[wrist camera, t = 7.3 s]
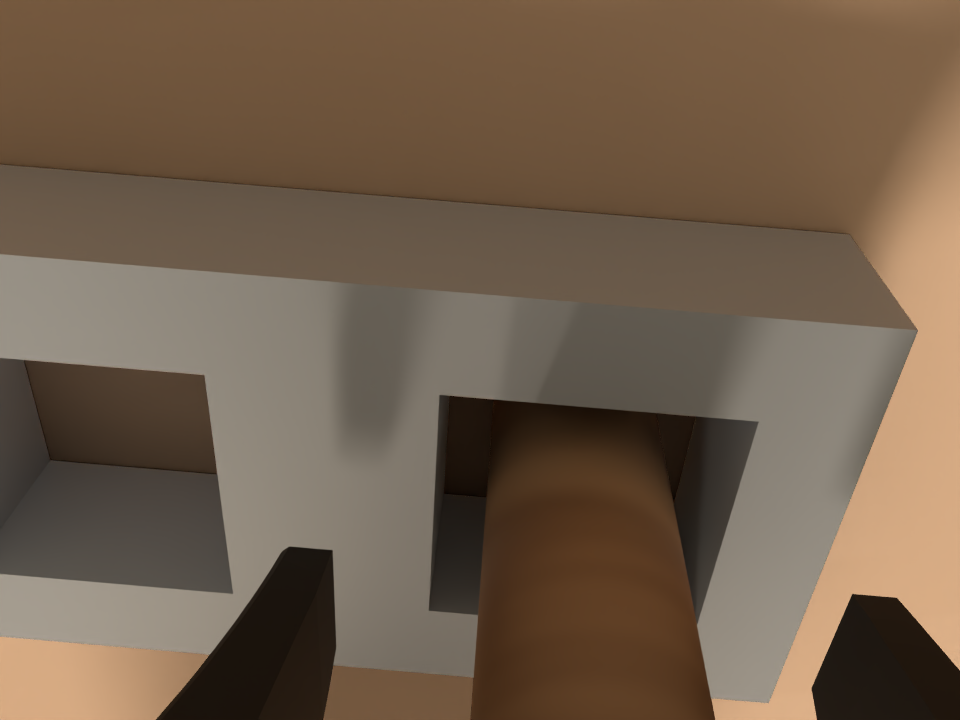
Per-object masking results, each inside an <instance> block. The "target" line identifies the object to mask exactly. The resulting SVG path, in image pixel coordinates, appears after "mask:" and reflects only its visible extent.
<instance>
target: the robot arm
mask: <svg viewBox="0 0 960 720" xmlns="http://www.w3.org/2000/svg"><path fill="white" fill-rule="evenodd" d="M335 652H336V625H335V598H334V571H333V550H326V549H314V548H302V547H291V546H289V547H288V548H286V549H285V550H283V551H282V552H281V553H280V555H279V557H278V558H277V560H276V562H275V563H274V565H273V567H272V568H271V570H270V571H269V573H268V574H267V576H266V577H265V579H264V581H263V582H262V584H261V585H260V587H259V588H258V590H257V591H256V593H255V594H254V595H253V597H252V598H251V600H250V601H249V603H248V604H247V605H246V607H245V608H244V610H243V611H242V612H241V614H240V615H239V617H238V618H237V619H236V621H235V622H234V624H233V625H232V626H231V628H230V629H229V630H228V632H227V633H226V634H225V636H224V637H223V638H222V640H221V641H220V642H219V643H218V645H217V646H216V647H215V649H214V650H213V651H212V653H211V654H210V655H209V656H208V658H207V659H206V660H205V662H204V663H203V664H202V666H201V667H200V668H199V669H198V671H197V672H196V673H195V674H194V676H193V677H192V678H191V679H190V681H189V682H188V683H187V684H186V685H185V687H184V688H183V689H182V690H181V691H180V692H179V694H178V695H177V696H176V697H175V698H174V699H173V701H172V702H171V703H170V704H169V705H168V706H167V708H166V709H165V710H164V711H163V712H162V713H161V715H160V716H159V717H158V718H157V719H156V720H323V718H324V712H325V707H326V702H327V696H328V691H329V686H330V680H331V675H332V669H333V664H334V658H335ZM812 693H813V699H814V704H815V710H816V716H817V720H960V670H959V669H958V668H957V667H956V666H955V665H954V663H953V662H952V661H951V660H950V659H949V658H948V656H947V655H946V654H945V653H944V652H943V651H942V649H941V648H940V647H939V646H938V645H937V644H936V642H935V641H934V640H933V639H932V638H931V637H930V635H929V634H928V633H927V632H926V631H925V630H924V628H923V627H922V626H921V625H920V624H919V623H918V621H917V620H916V619H915V618H914V617H913V616H912V615H911V613H910V612H909V611H908V610H907V609H906V608H905V607H904V606H903V604H902V603H901V602H900V601H899V600H898V599H897V598H892V597H880V596H868V595H856V594H852V596H851V599H850V601H849V603H848V606H847V608H846V610H845V612H844V615H843V617H842V619H841V622H840V624H839V626H838V629H837V631H836V633H835V636H834V638H833V640H832V642H831V645H830V647H829V649H828V652H827V654H826V656H825V659H824V661H823V663H822V666H821V668H820V670H819V672H818V675H817V677H816V679H815V682H814V684H813V686H812Z"/></svg>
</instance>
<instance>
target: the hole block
mask: <svg viewBox="0 0 960 720" xmlns="http://www.w3.org/2000/svg"><path fill="white" fill-rule="evenodd" d="M917 332H918V330H917V328H916V327H915V326H914V324H913V323H912V321H911V320H910V319H909V317H908V316H907V314H906V313H905V312H904V310H903V309H902V307H901V306H900V305H899V303H898V302H897V300H896V299H895V297H894V296H893V295H892V293H891V292H890V290H889V289H888V288H887V286H886V285H885V283H884V282H883V281H882V279H881V278H880V276H879V275H878V274H877V272H876V271H875V269H874V268H873V267H872V265H871V264H870V262H869V261H868V260H867V258H866V257H865V255H864V254H863V253H862V251H861V250H860V248H859V247H858V246H857V244H856V243H855V241H854V240H853V239H852V237H851V236H850V234H840V233H828V232H816V231H804V230H791V229H779V228H767V227H755V226H743V225H731V224H718V223H706V222H694V221H682V220H670V219H658V218H645V217H633V216H621V215H609V214H597V213H585V212H572V211H560V210H548V209H536V208H524V207H512V206H499V205H487V204H475V203H463V202H451V201H439V200H426V199H414V198H402V197H390V196H378V195H366V194H353V193H341V192H329V191H317V190H305V189H293V188H281V187H268V186H256V185H244V184H232V183H220V182H208V181H195V180H183V179H171V178H159V177H147V176H135V175H122V174H110V173H98V172H86V171H74V170H62V169H49V168H37V167H25V166H13V165H1V164H0V637H11V638H23V639H34V640H46V641H58V642H69V643H81V644H92V645H104V646H115V647H127V648H138V649H150V650H161V651H173V652H184V653H196V654H207V655H210V654H211V653H212V651H213V650H214V649H215V647H216V646H217V645H218V643H219V642H220V641H221V640H222V638H223V637H224V636H225V634H226V633H227V632H228V630H229V629H230V628H231V626H232V625H233V624H234V622H235V621H236V619H237V618H238V617H239V615H240V614H241V612H242V611H243V610H244V608H245V607H246V605H247V604H248V603H249V601H250V600H251V598H252V597H253V595H254V594H255V593H256V591H257V590H258V588H259V587H260V585H261V584H262V582H263V581H264V579H265V577H266V576H267V574H268V573H269V571H270V570H271V568H272V567H273V565H274V563H275V562H276V560H277V558H278V557H279V555H280V553H281V552H282V551H283V550H285V549H286V548H288V547H289V546H291V547H302V548H314V549H326V550H333V571H334V598H335V625H336V652H335V658H334V664H333V665H334V666H346V667H357V668H369V669H380V670H392V671H404V672H415V673H427V674H438V675H450V676H461V677H473V678H474V665H475V651H476V637H477V623H478V609H479V595H480V581H481V567H482V553H483V540H484V526H485V512H486V498H487V497H476V496H464V495H452V494H444V484H445V466H446V448H447V431H448V413H449V396H459V397H471V398H483V399H495V400H507V401H519V402H531V403H543V404H555V405H567V406H578V407H590V408H602V409H614V410H626V411H638V412H650V413H662V414H674V415H686V416H696V418H695V422H694V426H693V430H692V434H691V438H690V442H689V446H688V450H687V454H686V458H685V462H684V466H683V470H682V474H681V478H680V482H679V486H678V490H677V494H676V498H675V502H674V508H675V513H676V519H677V524H678V529H679V534H680V539H681V545H682V550H683V555H684V560H685V565H686V571H687V576H688V581H689V586H690V591H691V597H692V602H693V607H694V612H695V617H696V623H697V628H698V633H699V638H700V643H701V649H702V654H703V659H704V664H705V669H706V675H707V680H708V685H709V690H710V695H711V698H715V699H726V700H738V701H750V702H761V703H769V701H770V699H771V696H772V694H773V691H774V689H775V686H776V684H777V681H778V679H779V676H780V674H781V671H782V669H783V666H784V664H785V661H786V659H787V656H788V654H789V651H790V649H791V646H792V644H793V641H794V639H795V636H796V634H797V631H798V629H799V626H800V624H801V621H802V619H803V616H804V614H805V611H806V609H807V606H808V604H809V601H810V599H811V596H812V594H813V591H814V589H815V586H816V584H817V581H818V579H819V576H820V574H821V571H822V569H823V566H824V564H825V561H826V559H827V556H828V554H829V551H830V549H831V546H832V544H833V541H834V539H835V536H836V534H837V531H838V529H839V526H840V524H841V521H842V519H843V516H844V514H845V511H846V509H847V506H848V504H849V501H850V499H851V496H852V494H853V491H854V489H855V486H856V484H857V481H858V479H859V476H860V474H861V471H862V469H863V466H864V464H865V461H866V459H867V456H868V454H869V452H870V449H871V447H872V444H873V442H874V439H875V437H876V434H877V432H878V429H879V427H880V424H881V422H882V419H883V417H884V414H885V412H886V409H887V407H888V404H889V402H890V399H891V397H892V394H893V392H894V389H895V387H896V384H897V382H898V379H899V377H900V374H901V372H902V369H903V367H904V364H905V362H906V359H907V357H908V354H909V352H910V349H911V347H912V344H913V342H914V339H915V337H916V334H917ZM24 360H31V361H43V362H55V363H67V364H79V365H91V366H103V367H114V368H126V369H138V370H150V371H162V372H174V373H186V374H198V375H204V376H205V384H206V391H207V399H208V407H209V414H210V422H211V429H212V437H213V444H214V452H215V460H216V467H217V474H205V473H193V472H182V471H170V470H158V469H146V468H135V467H123V466H111V465H99V464H88V463H76V462H64V461H52V460H50V457H49V454H48V450H47V446H46V442H45V439H44V435H43V431H42V427H41V424H40V420H39V416H38V412H37V409H36V405H35V401H34V397H33V394H32V390H31V386H30V382H29V379H28V375H27V371H26V367H25V364H24Z"/></svg>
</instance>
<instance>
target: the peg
mask: <svg viewBox="0 0 960 720" xmlns="http://www.w3.org/2000/svg"><path fill="white" fill-rule="evenodd" d="M471 720H715V716H714V711H713V706H712V701H711V695H710V690H709V685H708V680H707V675H706V669H705V664H704V659H703V654H702V649H701V643H700V638H699V633H698V628H697V623H696V617H695V612H694V607H693V602H692V597H691V591H690V586H689V581H688V576H687V571H686V565H685V560H684V555H683V550H682V545H681V539H680V534H679V529H678V524H677V519H676V513H675V508H674V503H673V498H672V493H671V487H670V482H669V477H668V472H667V467H666V461H665V456H664V451H663V446H662V441H661V435H660V430H659V425H658V420H657V415H656V413H650V412H638V411H626V410H614V409H602V408H590V407H578V406H567V405H555V404H543V403H531V402H519V401H507V400H495V399H494V403H493V414H492V428H491V442H490V456H489V470H488V484H487V498H486V512H485V526H484V540H483V553H482V567H481V581H480V595H479V609H478V623H477V637H476V651H475V665H474V679H473V693H472V707H471Z"/></svg>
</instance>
